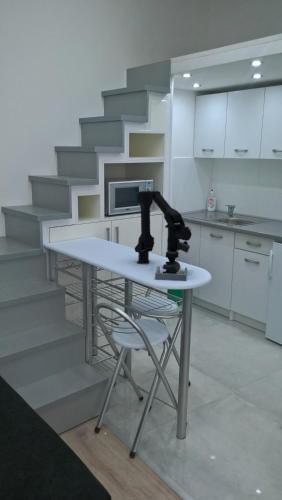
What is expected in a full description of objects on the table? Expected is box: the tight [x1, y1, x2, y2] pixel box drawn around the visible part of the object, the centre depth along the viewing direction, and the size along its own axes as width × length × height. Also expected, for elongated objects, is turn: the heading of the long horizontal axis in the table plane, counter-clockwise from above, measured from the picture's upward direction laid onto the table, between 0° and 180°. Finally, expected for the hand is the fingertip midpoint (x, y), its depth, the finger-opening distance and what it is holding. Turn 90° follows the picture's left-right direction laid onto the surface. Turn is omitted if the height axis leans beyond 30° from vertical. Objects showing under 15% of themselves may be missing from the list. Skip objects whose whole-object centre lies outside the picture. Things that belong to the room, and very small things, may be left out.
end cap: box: [162, 260, 181, 274], centre depth 213 cm, size 10×7×7 cm
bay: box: [154, 266, 188, 282], centre depth 213 cm, size 14×15×3 cm
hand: (172, 267), depth 220 cm, fingers closed
